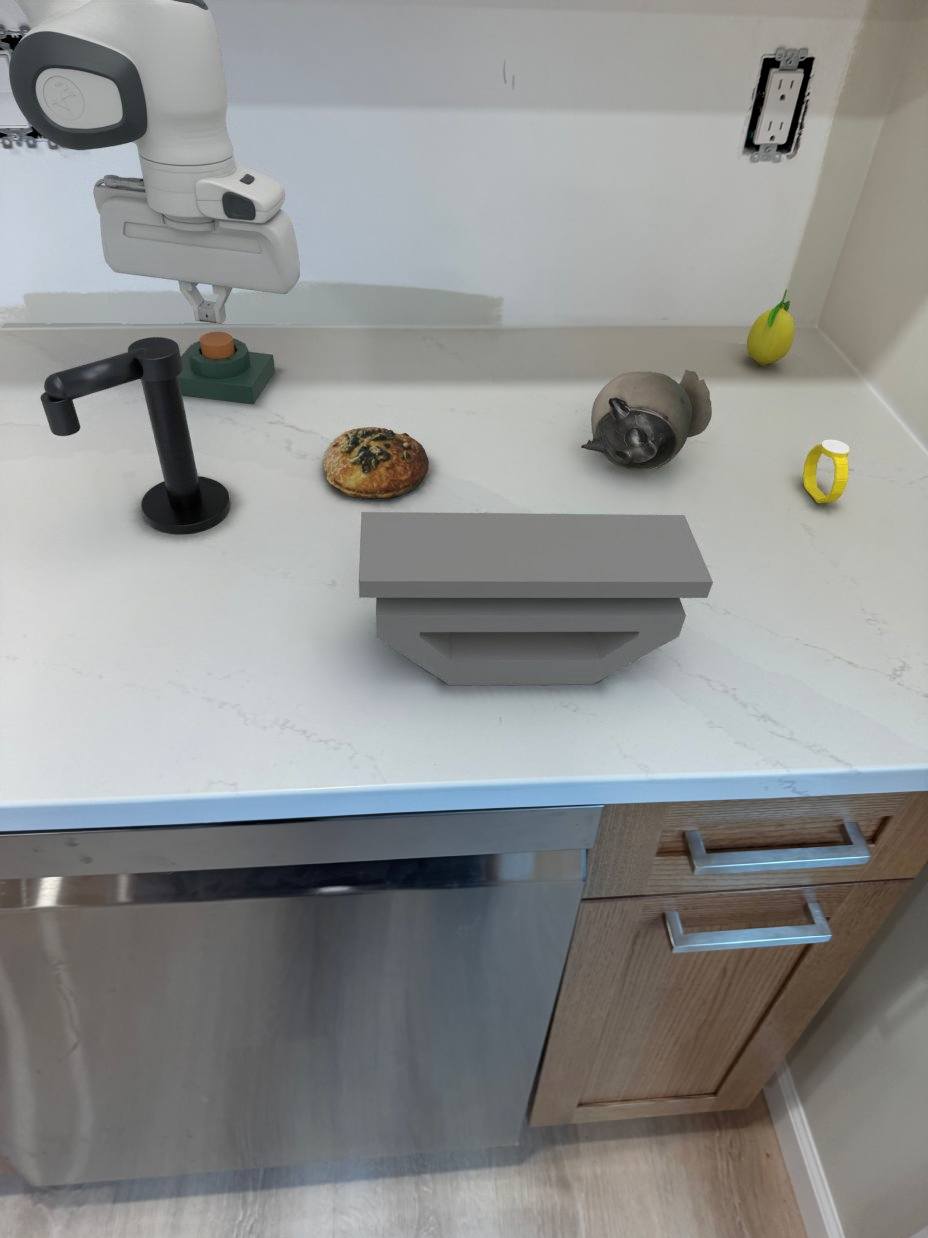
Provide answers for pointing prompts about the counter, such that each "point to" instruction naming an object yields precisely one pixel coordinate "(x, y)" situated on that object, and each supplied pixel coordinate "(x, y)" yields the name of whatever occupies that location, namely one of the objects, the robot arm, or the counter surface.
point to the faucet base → (189, 516)
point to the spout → (107, 379)
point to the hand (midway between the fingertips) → (210, 320)
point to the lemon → (771, 334)
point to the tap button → (217, 345)
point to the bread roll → (375, 463)
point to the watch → (839, 455)
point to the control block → (225, 374)
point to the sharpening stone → (528, 591)
